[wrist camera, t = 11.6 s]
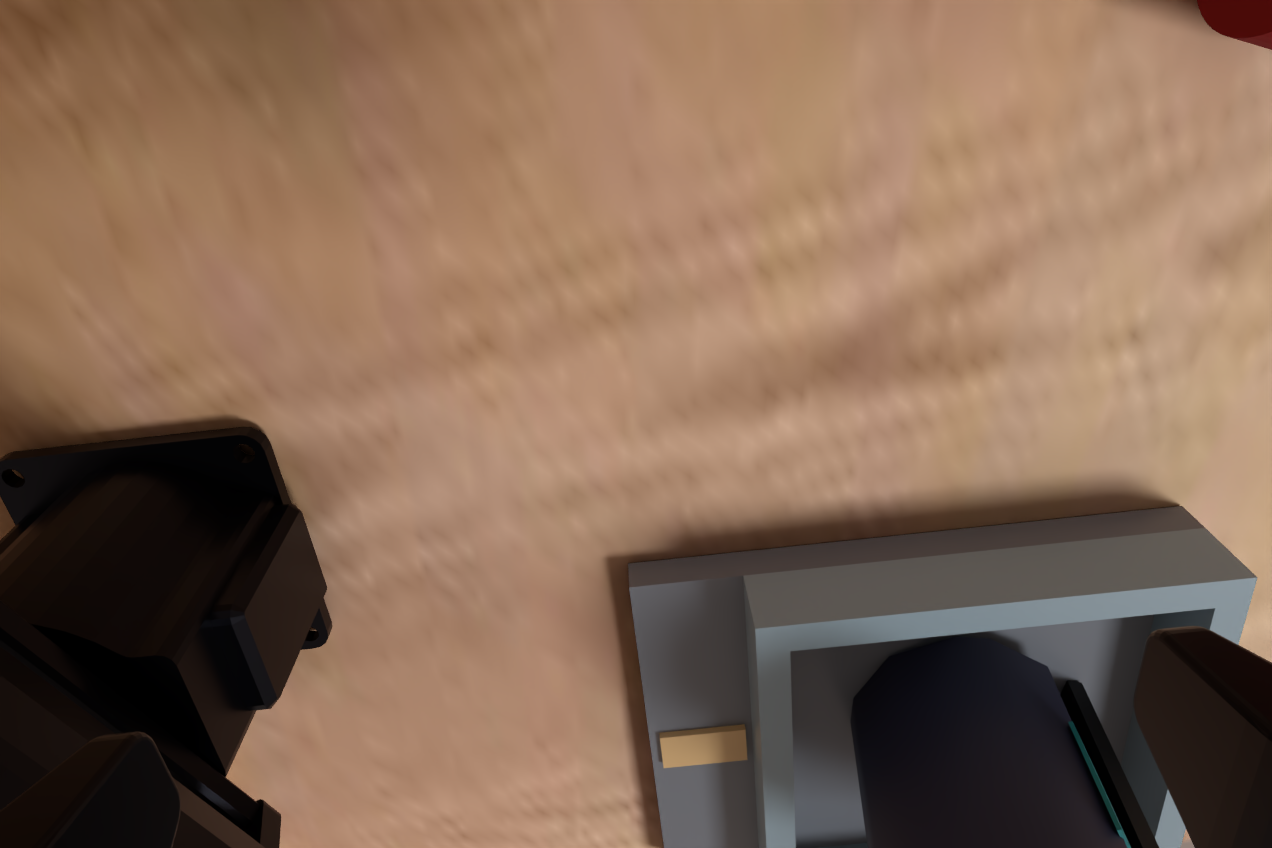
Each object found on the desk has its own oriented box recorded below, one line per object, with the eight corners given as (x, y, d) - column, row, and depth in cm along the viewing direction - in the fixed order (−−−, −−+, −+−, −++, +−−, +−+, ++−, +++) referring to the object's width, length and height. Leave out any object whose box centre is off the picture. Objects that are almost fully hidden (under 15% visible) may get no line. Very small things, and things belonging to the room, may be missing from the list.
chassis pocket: (666, 850, 29) (672, 941, 26) (628, 563, 23) (631, 641, 21) (1114, 806, 28) (1167, 894, 26) (1181, 506, 23) (1257, 577, 20)
